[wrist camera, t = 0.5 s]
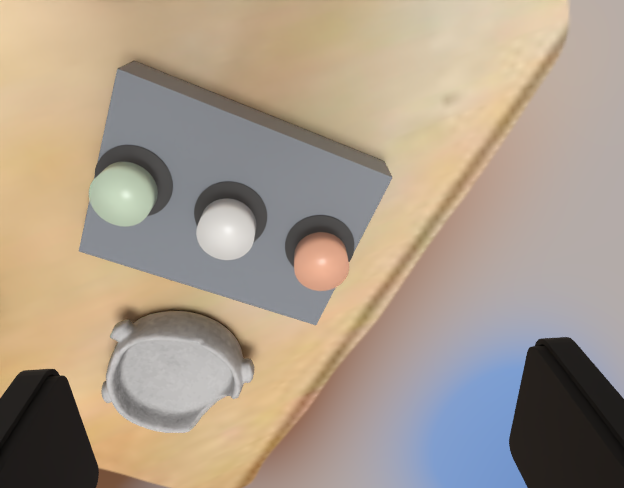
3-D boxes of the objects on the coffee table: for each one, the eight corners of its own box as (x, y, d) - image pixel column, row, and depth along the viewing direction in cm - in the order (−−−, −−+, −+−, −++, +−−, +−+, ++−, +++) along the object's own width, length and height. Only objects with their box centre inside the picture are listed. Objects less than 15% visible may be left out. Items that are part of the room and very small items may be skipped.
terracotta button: (306, 224, 38) (306, 236, 37) (355, 242, 39) (358, 254, 38) (286, 268, 40) (286, 281, 39) (334, 284, 41) (335, 297, 39)
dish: (267, 335, 51) (265, 368, 47) (212, 416, 57) (205, 452, 52) (138, 279, 47) (122, 309, 43) (92, 371, 53) (74, 406, 48)
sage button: (105, 153, 35) (94, 161, 33) (163, 174, 36) (157, 183, 34) (93, 204, 37) (83, 214, 35) (150, 222, 38) (143, 234, 36)
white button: (210, 190, 37) (205, 200, 35) (263, 209, 38) (262, 220, 36) (194, 237, 39) (189, 249, 37) (246, 254, 40) (243, 267, 38)
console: (134, 60, 37) (116, 68, 34) (384, 161, 42) (393, 178, 38) (95, 230, 44) (77, 252, 41) (314, 300, 49) (316, 326, 45)
